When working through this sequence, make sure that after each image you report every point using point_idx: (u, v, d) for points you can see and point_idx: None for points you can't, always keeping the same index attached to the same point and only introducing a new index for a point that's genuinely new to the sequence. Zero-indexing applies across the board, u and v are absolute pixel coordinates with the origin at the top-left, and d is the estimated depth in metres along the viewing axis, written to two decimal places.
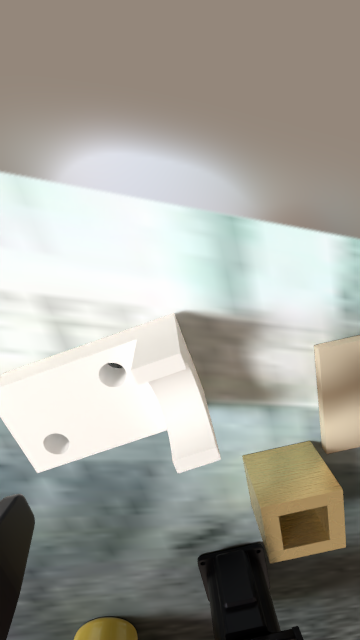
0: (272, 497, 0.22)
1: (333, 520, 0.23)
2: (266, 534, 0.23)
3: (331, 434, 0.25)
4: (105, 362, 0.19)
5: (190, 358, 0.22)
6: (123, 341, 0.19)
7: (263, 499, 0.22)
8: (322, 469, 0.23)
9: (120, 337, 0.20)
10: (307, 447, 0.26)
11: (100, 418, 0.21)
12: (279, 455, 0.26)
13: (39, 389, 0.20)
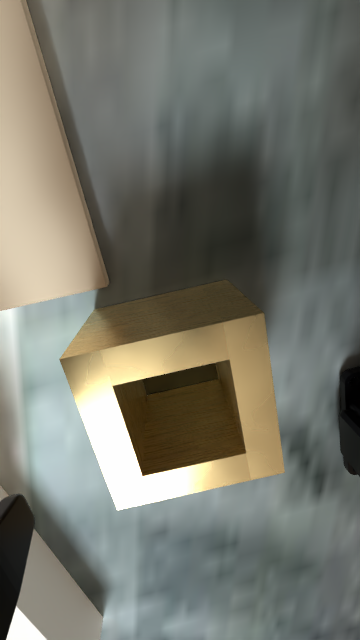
0: None
1: (161, 363, 0.09)
2: (194, 490, 0.11)
3: (55, 285, 0.12)
4: None
5: None
6: None
7: None
8: None
9: None
10: None
11: None
12: None
13: None
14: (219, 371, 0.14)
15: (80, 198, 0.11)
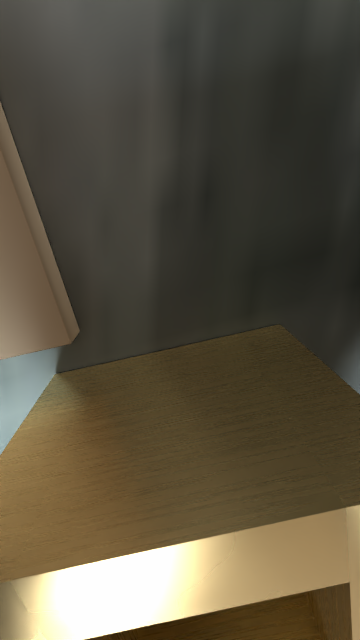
0: None
1: (175, 600, 0.03)
2: None
3: None
4: None
5: None
6: None
7: None
8: None
9: None
10: None
11: None
12: None
13: None
14: None
15: (13, 182, 0.06)
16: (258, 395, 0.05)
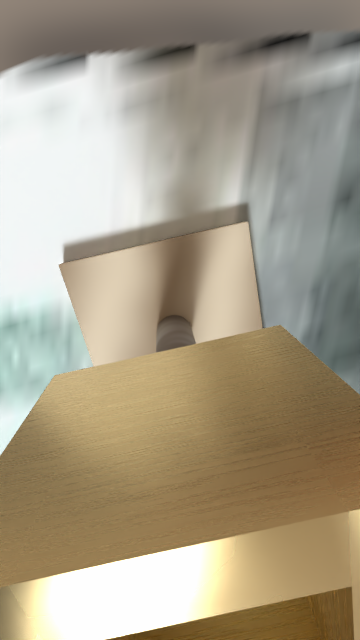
0: None
1: (176, 604, 0.03)
2: None
3: None
4: None
5: None
6: None
7: None
8: None
9: None
10: None
11: None
12: None
13: None
14: None
15: None
16: (259, 397, 0.05)
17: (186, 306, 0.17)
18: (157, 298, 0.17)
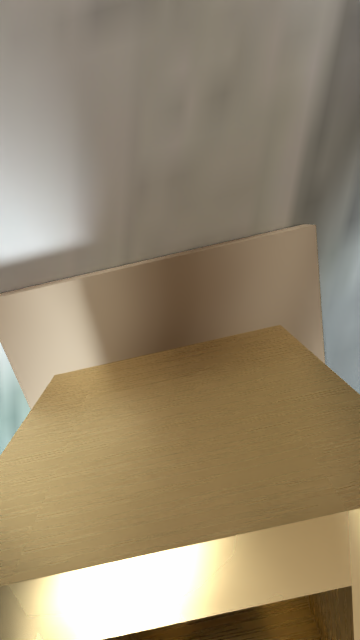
0: None
1: (176, 602, 0.03)
2: None
3: None
4: None
5: None
6: None
7: None
8: None
9: None
10: None
11: None
12: None
13: None
14: None
15: None
16: (259, 396, 0.05)
17: None
18: None
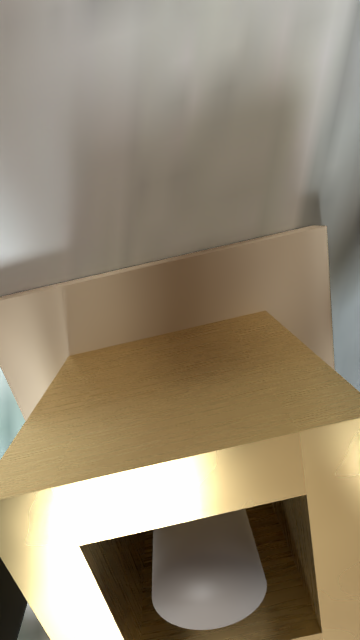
0: None
1: (174, 506, 0.05)
2: None
3: None
4: None
5: None
6: None
7: None
8: None
9: None
10: None
11: None
12: None
13: None
14: None
15: None
16: (242, 364, 0.06)
17: None
18: None
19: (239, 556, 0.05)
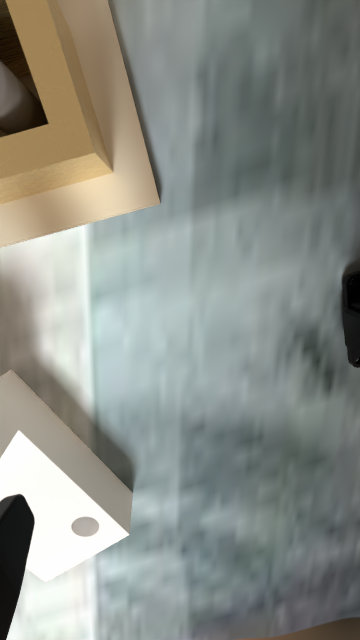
0: None
1: None
2: (6, 173, 0.11)
3: (121, 203, 0.16)
4: None
5: None
6: None
7: None
8: None
9: None
10: None
11: (37, 499, 0.19)
12: None
13: None
14: None
15: (141, 132, 0.15)
16: None
17: None
18: None
19: None
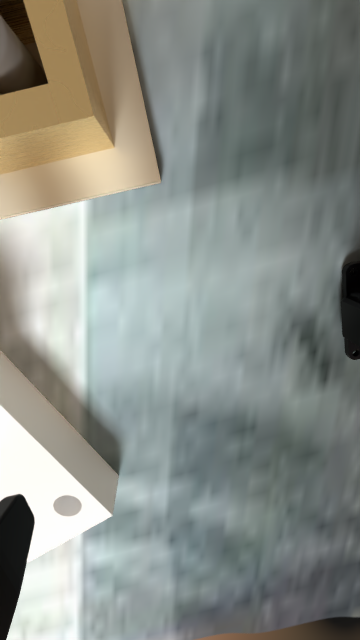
0: None
1: None
2: (3, 133, 0.11)
3: (122, 179, 0.16)
4: None
5: None
6: None
7: None
8: None
9: None
10: None
11: (18, 476, 0.18)
12: None
13: None
14: None
15: (144, 107, 0.15)
16: None
17: None
18: None
19: None
